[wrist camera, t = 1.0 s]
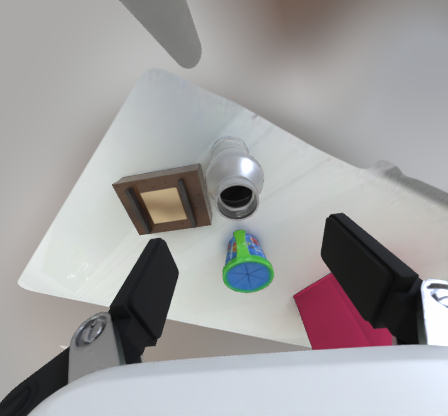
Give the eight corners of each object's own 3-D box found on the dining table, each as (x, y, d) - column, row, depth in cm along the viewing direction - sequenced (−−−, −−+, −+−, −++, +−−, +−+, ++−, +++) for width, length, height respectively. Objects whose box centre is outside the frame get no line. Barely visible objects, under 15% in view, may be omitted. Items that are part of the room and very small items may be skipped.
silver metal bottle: (214, 131, 29) (201, 156, 12) (251, 138, 30) (289, 173, 12) (209, 166, 32) (192, 227, 15) (242, 172, 33) (263, 238, 16)
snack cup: (263, 263, 46) (273, 298, 37) (226, 266, 47) (226, 301, 38) (263, 216, 38) (276, 247, 29) (219, 220, 39) (217, 252, 30)
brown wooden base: (123, 177, 33) (106, 187, 29) (199, 163, 32) (195, 172, 27) (146, 224, 39) (136, 239, 35) (212, 214, 38) (210, 229, 33)
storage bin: (288, 297, 54) (342, 451, 29) (371, 244, 43) (573, 425, 18) (338, 323, 62) (413, 460, 38) (419, 285, 51) (602, 446, 26)
